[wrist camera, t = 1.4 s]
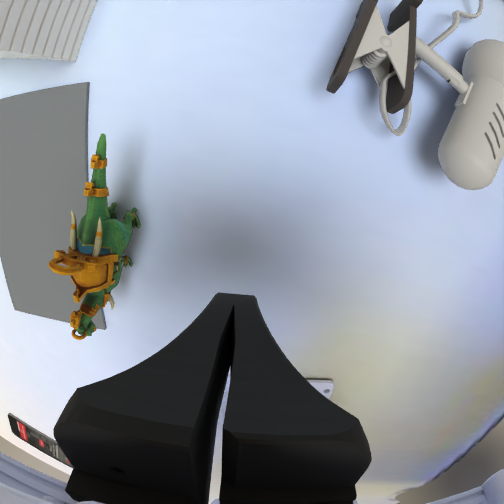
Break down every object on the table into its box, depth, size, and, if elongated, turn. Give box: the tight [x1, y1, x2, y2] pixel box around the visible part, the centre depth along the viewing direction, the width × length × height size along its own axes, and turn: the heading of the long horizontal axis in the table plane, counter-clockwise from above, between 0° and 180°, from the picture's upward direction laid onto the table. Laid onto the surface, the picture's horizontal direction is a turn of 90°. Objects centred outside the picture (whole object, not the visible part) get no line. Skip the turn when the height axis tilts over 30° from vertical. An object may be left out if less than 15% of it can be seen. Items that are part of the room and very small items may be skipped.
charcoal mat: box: [0, 82, 106, 330], centre depth 20 cm, size 18×10×1 cm, turn 175°
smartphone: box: [8, 413, 74, 469], centre depth 34 cm, size 7×1×15 cm
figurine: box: [48, 134, 140, 340], centre depth 16 cm, size 3×12×8 cm, turn 164°
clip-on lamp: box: [326, 0, 504, 190], centre depth 12 cm, size 12×6×18 cm
